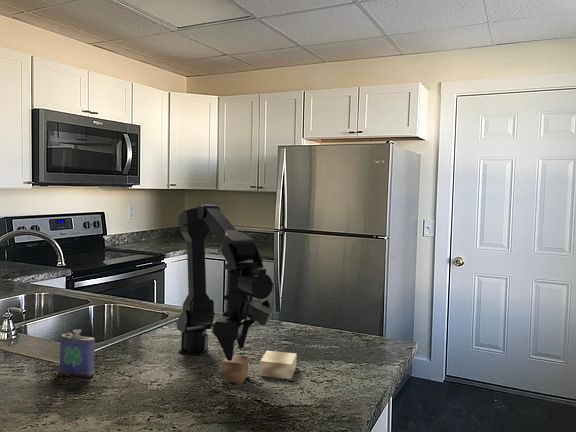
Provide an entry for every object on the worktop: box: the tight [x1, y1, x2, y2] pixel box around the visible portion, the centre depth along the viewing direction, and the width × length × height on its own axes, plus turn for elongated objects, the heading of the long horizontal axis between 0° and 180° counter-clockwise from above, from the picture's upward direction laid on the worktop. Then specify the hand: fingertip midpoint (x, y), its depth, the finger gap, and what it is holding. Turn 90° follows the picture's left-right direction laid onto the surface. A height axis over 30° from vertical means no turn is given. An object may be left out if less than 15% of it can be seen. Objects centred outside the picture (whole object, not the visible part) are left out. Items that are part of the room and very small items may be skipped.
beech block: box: [259, 350, 298, 380], centre depth 125 cm, size 8×8×4 cm
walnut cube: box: [221, 354, 249, 385], centre depth 119 cm, size 5×5×5 cm
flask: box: [58, 329, 96, 378], centre depth 117 cm, size 9×3×11 cm, turn 74°
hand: (235, 353), depth 118 cm, fingers open, 9 cm apart
